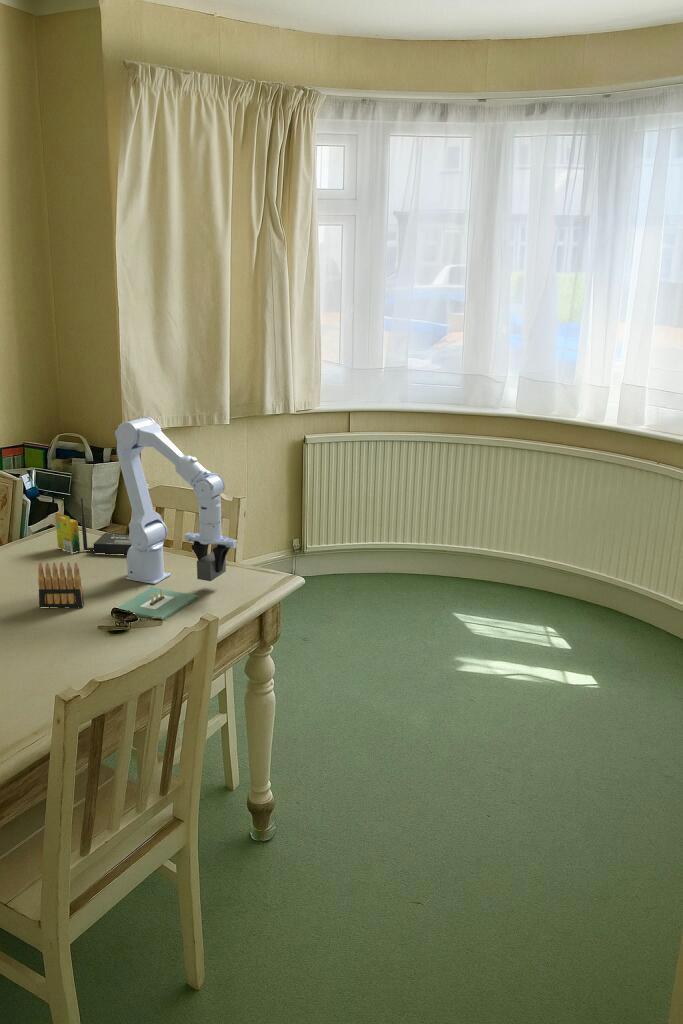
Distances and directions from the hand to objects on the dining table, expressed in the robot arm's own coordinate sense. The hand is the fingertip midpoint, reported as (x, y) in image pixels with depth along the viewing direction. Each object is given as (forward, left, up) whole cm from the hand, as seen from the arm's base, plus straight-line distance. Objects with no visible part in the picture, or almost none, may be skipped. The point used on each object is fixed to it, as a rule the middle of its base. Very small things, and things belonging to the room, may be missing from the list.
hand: (211, 570), depth 225 cm
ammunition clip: (-29, -25, -6) cm, 39 cm away
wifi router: (-42, +17, -6) cm, 46 cm away
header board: (-8, -14, -6) cm, 17 cm away
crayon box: (-55, +10, -6) cm, 56 cm away
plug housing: (0, 0, -1) cm, 1 cm away
